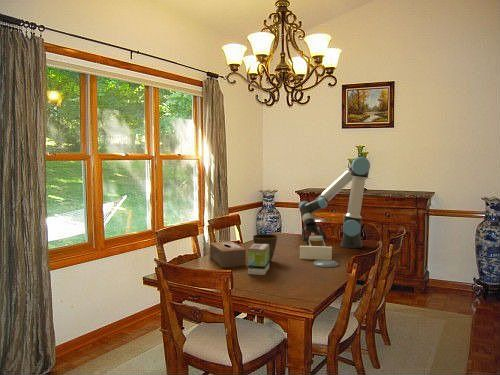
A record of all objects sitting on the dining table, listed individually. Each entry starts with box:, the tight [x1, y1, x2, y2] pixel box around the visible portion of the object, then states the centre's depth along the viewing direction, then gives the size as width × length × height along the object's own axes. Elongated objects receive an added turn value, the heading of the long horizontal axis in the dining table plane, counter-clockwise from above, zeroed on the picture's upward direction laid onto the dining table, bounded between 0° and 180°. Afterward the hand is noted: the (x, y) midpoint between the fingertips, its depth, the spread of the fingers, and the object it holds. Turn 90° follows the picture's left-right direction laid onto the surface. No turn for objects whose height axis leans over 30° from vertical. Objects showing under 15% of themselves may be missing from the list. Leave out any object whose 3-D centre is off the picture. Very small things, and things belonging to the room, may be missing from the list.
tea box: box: [247, 243, 270, 276], centre depth 244 cm, size 15×10×15 cm, turn 168°
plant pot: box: [252, 233, 278, 263], centre depth 266 cm, size 15×15×16 cm
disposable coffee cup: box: [308, 234, 323, 246], centre depth 283 cm, size 10×10×12 cm
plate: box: [313, 259, 340, 268], centre depth 259 cm, size 15×15×1 cm
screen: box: [299, 245, 333, 261], centre depth 271 cm, size 20×2×8 cm, turn 80°
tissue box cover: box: [209, 240, 247, 268], centre depth 267 cm, size 26×14×10 cm, turn 22°
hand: (318, 248), depth 280 cm, fingers closed on disposable coffee cup, 9 cm apart
